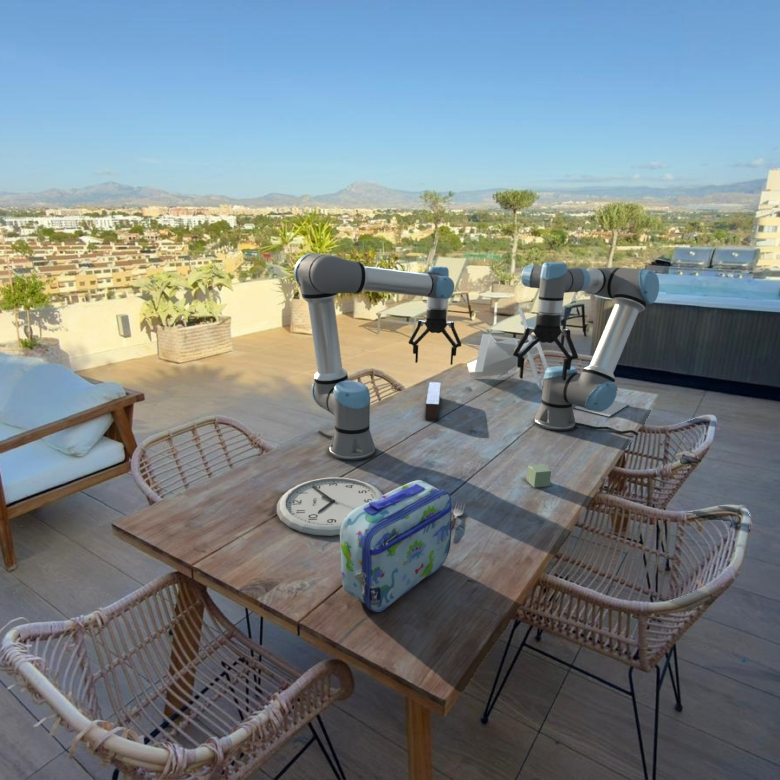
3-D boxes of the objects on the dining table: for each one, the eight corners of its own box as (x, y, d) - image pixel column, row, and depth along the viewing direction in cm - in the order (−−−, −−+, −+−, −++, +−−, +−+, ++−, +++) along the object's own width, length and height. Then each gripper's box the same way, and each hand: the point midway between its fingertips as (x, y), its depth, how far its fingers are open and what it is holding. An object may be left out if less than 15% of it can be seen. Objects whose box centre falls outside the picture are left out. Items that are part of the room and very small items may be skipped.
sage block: (541, 478, 160) (542, 463, 159) (549, 486, 156) (551, 470, 154) (526, 480, 159) (527, 465, 158) (534, 487, 155) (535, 472, 153)
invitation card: (608, 416, 214) (573, 407, 224) (608, 416, 214) (573, 408, 224) (628, 404, 229) (594, 396, 238) (628, 405, 229) (594, 397, 238)
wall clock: (392, 527, 129) (268, 531, 127) (391, 533, 130) (269, 537, 127) (383, 473, 158) (282, 475, 155) (383, 478, 158) (282, 480, 156)
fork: (441, 537, 129) (441, 530, 128) (456, 506, 143) (456, 499, 142) (451, 539, 128) (452, 532, 127) (465, 508, 142) (466, 501, 142)
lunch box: (369, 626, 100) (370, 530, 93) (334, 598, 107) (332, 507, 101) (455, 567, 117) (460, 483, 111) (419, 547, 124) (423, 467, 118)
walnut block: (428, 396, 235) (429, 382, 233) (440, 397, 235) (440, 382, 233) (425, 420, 207) (425, 403, 205) (437, 421, 206) (438, 404, 204)
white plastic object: (488, 419, 265) (468, 396, 240) (469, 347, 287) (449, 319, 262) (559, 395, 253) (546, 369, 228) (534, 321, 275) (519, 290, 250)
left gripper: (469, 308, 200) (466, 362, 206) (404, 305, 202) (403, 358, 208) (470, 311, 192) (466, 367, 199) (403, 308, 195) (401, 363, 201)
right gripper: (587, 312, 166) (579, 376, 172) (507, 309, 169) (502, 373, 175) (593, 316, 159) (584, 383, 165) (509, 313, 162) (504, 379, 168)
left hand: (433, 363), depth 204 cm, fingers open, 13 cm apart
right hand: (542, 378), depth 170 cm, fingers open, 13 cm apart
